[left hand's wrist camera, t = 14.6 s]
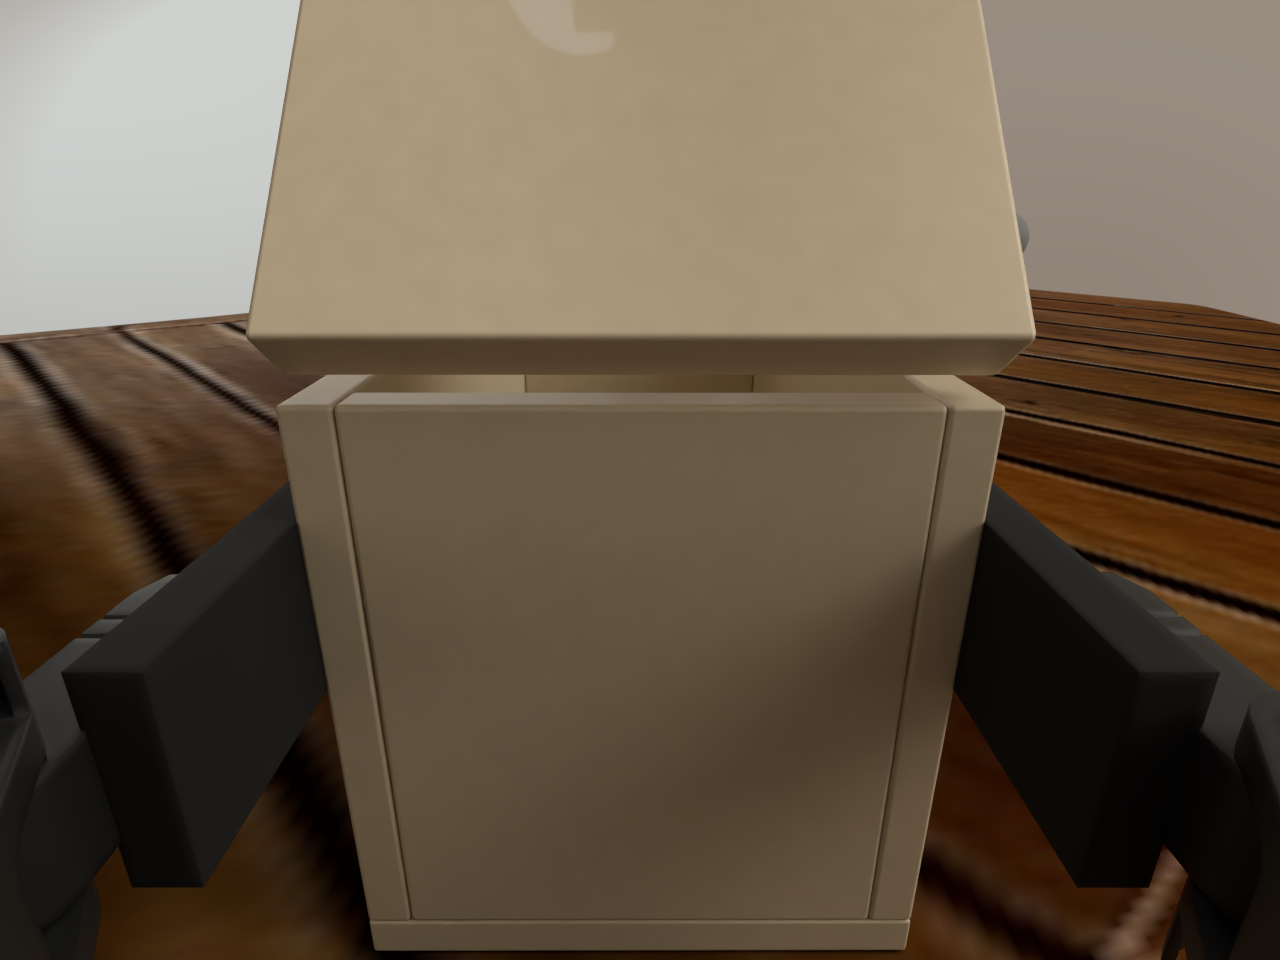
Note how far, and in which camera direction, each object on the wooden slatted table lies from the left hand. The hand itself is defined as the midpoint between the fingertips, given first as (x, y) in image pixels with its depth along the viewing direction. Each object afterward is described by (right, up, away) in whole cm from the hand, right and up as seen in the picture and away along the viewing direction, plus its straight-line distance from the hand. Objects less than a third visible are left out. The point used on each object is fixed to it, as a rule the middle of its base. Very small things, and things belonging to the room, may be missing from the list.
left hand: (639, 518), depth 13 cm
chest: (0, -4, +7) cm, 9 cm away
